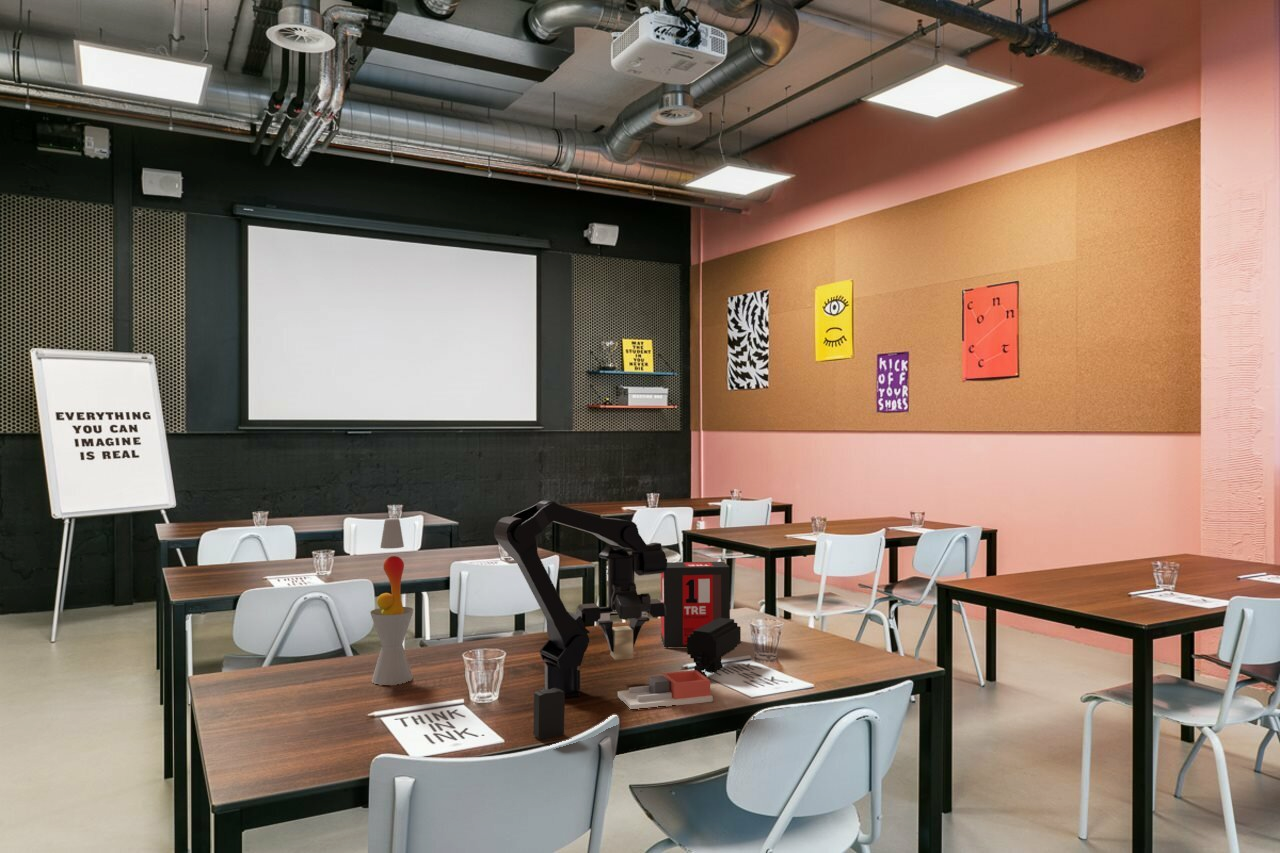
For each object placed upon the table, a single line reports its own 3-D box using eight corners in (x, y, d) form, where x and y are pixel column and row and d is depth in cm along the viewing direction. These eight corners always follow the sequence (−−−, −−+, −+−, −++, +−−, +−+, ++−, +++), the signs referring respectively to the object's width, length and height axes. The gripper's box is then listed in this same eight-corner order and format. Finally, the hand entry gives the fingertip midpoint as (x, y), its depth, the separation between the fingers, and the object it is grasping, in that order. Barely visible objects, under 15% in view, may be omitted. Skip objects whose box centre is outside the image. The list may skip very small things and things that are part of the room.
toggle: (655, 697, 162) (655, 682, 162) (649, 691, 166) (648, 676, 166) (669, 696, 163) (669, 681, 163) (663, 690, 167) (662, 675, 167)
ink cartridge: (558, 731, 147) (559, 686, 147) (564, 735, 145) (564, 690, 145) (533, 736, 144) (533, 690, 145) (538, 740, 142) (539, 694, 143)
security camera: (681, 679, 179) (681, 632, 179) (714, 658, 195) (714, 616, 195) (710, 683, 175) (710, 636, 176) (741, 662, 192) (741, 619, 192)
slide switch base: (630, 710, 158) (630, 689, 158) (617, 696, 167) (617, 676, 167) (712, 701, 163) (712, 681, 163) (696, 688, 172) (696, 669, 172)
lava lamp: (404, 671, 185) (404, 515, 186) (420, 680, 178) (419, 518, 179) (364, 678, 180) (364, 518, 180) (378, 688, 173) (378, 521, 173)
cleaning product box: (664, 648, 205) (663, 567, 205) (661, 639, 214) (660, 562, 214) (730, 647, 206) (729, 566, 206) (724, 638, 215) (723, 561, 215)
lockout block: (615, 659, 174) (615, 631, 174) (610, 654, 178) (610, 627, 178) (633, 658, 176) (633, 629, 176) (627, 653, 179) (627, 625, 180)
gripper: (588, 586, 167) (588, 664, 166) (674, 581, 172) (675, 656, 172) (575, 578, 177) (576, 650, 177) (657, 573, 183) (658, 643, 183)
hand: (621, 650), depth 177 cm, fingers closed on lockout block, 4 cm apart
